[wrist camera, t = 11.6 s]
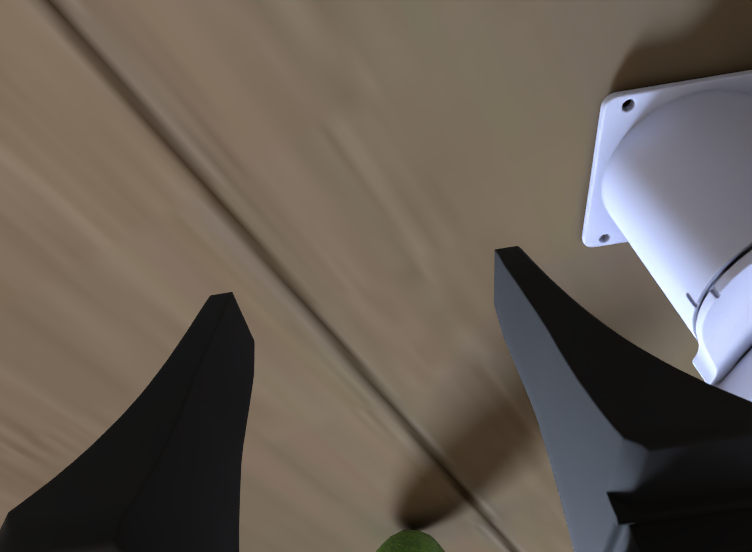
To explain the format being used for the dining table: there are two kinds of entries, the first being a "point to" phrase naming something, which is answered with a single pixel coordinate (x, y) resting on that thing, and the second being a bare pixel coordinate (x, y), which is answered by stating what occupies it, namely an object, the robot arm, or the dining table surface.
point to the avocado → (410, 542)
